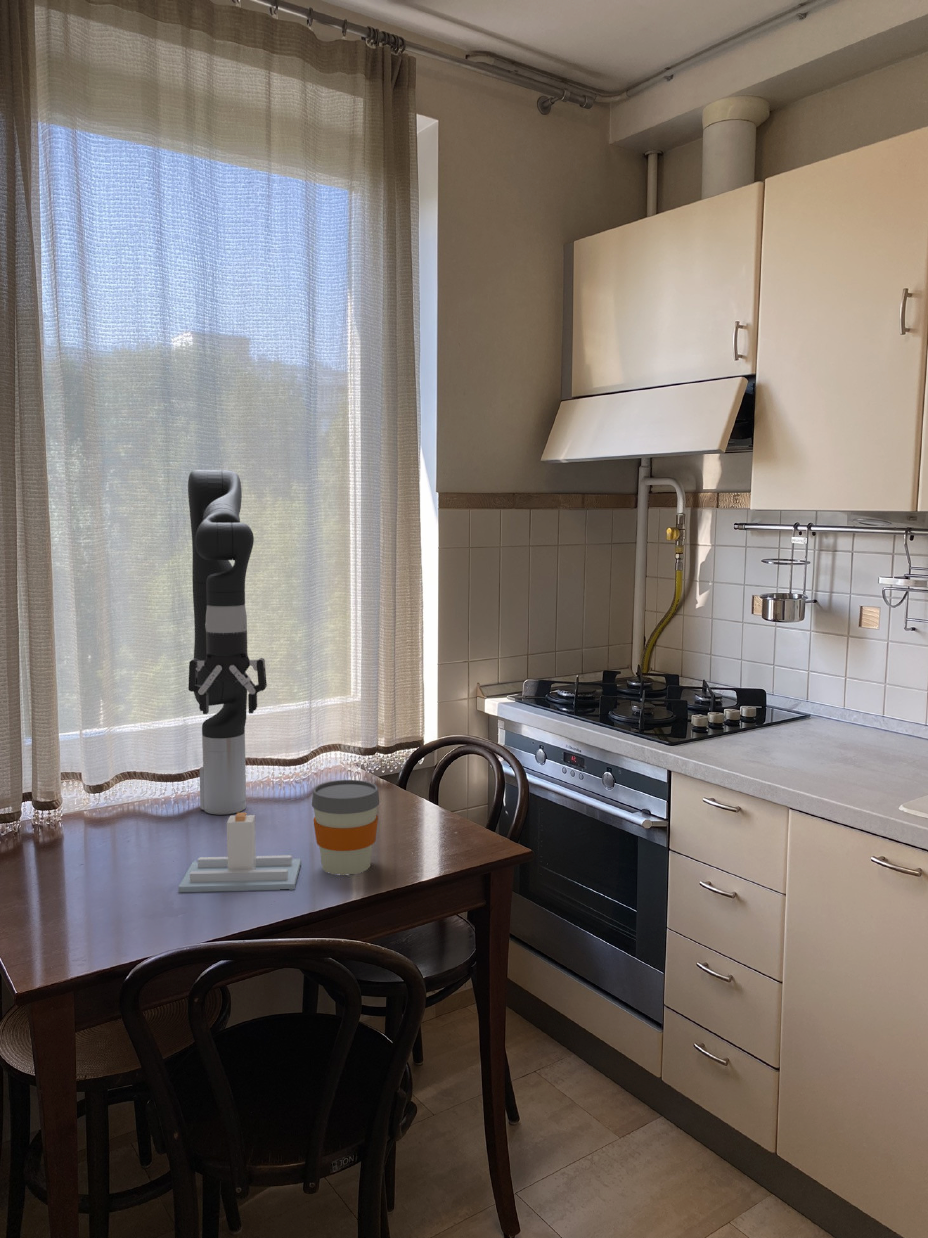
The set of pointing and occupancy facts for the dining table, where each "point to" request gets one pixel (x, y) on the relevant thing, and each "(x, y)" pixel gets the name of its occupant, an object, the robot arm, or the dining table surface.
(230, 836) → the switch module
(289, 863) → the mounting board
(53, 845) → the dining table surface
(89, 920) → the dining table surface
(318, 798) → the reusable coffee cup
